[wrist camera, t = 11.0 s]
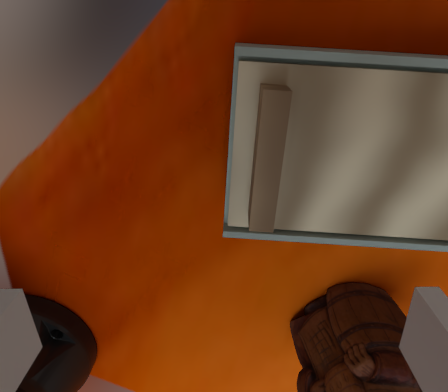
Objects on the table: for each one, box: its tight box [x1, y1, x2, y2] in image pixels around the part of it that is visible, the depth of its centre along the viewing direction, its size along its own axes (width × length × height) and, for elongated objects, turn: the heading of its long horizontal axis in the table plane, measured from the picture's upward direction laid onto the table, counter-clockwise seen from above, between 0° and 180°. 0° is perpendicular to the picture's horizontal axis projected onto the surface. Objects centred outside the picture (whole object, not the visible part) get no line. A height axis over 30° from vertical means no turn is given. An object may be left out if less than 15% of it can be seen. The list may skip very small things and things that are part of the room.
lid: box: [228, 60, 448, 240], centre depth 22 cm, size 21×11×3 cm, turn 87°
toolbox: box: [223, 43, 448, 252], centre depth 26 cm, size 22×13×8 cm, turn 87°
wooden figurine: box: [290, 282, 422, 392], centre depth 30 cm, size 12×6×18 cm, turn 136°
